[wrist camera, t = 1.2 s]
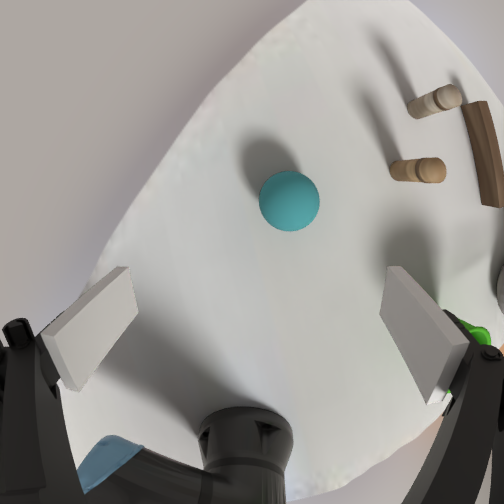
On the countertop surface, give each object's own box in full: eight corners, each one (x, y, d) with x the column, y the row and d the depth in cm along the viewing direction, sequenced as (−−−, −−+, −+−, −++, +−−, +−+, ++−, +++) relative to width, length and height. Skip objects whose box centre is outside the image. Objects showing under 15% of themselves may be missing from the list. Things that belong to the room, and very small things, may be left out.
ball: (267, 232, 32) (269, 244, 26) (252, 180, 31) (250, 180, 25) (319, 218, 32) (332, 226, 26) (305, 166, 30) (315, 162, 25)
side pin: (410, 120, 28) (449, 107, 20) (404, 101, 28) (440, 83, 20) (425, 118, 28) (465, 106, 20) (419, 99, 28) (457, 83, 19)
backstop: (481, 204, 30) (499, 208, 26) (460, 106, 27) (477, 101, 23) (490, 201, 30) (507, 205, 26) (469, 105, 27) (486, 101, 23)
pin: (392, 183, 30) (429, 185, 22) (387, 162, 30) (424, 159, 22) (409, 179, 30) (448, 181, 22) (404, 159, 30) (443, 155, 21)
